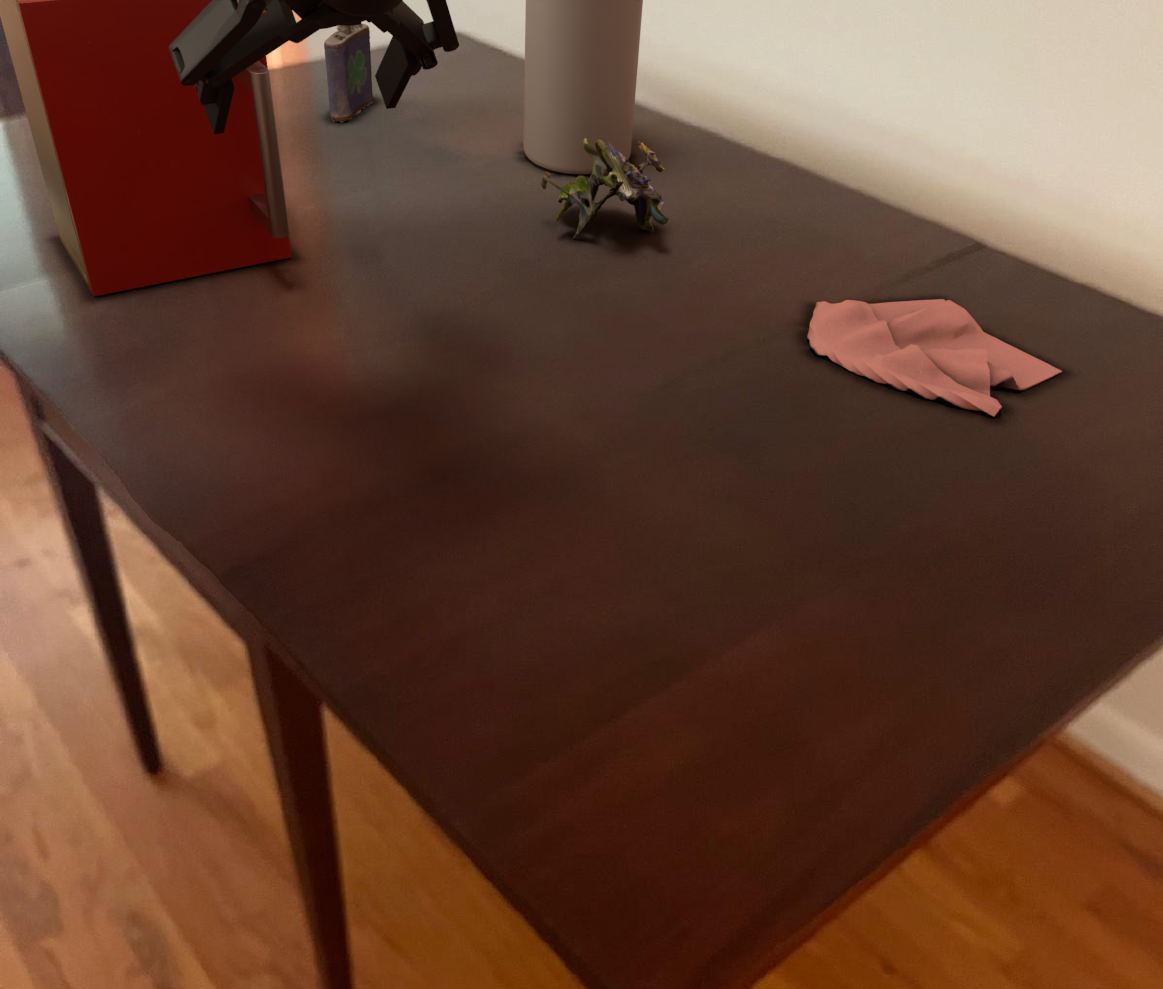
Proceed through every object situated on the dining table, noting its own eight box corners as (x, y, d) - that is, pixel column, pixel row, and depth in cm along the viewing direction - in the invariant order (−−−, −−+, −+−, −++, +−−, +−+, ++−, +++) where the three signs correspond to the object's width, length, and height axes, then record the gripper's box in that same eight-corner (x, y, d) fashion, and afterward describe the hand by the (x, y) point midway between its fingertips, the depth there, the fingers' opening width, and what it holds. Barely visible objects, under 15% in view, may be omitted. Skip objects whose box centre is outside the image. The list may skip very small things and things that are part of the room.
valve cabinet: (287, 253, 109) (251, -25, 93) (90, 292, 102) (14, -4, 85) (246, 206, 117) (206, -59, 101) (60, 239, 109) (-16, -42, 93)
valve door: (316, 285, 104) (284, 1, 89) (112, 328, 97) (36, 26, 81) (288, 253, 109) (252, -22, 93) (91, 292, 101) (15, -1, 85)
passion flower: (636, 277, 121) (699, 211, 111) (551, 280, 115) (610, 210, 105) (602, 186, 123) (661, 113, 113) (518, 184, 117) (571, 107, 107)
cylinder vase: (646, 171, 129) (668, -76, 113) (543, 181, 126) (550, -73, 109) (607, 132, 138) (622, -103, 121) (509, 140, 134) (511, -101, 118)
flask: (345, 124, 136) (336, 28, 128) (323, 120, 136) (313, 24, 129) (378, 100, 142) (371, 8, 135) (356, 97, 143) (349, 5, 136)
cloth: (785, 300, 107) (789, 276, 106) (1005, 300, 109) (1013, 277, 108) (841, 419, 92) (847, 394, 90) (1096, 417, 94) (1106, 392, 93)
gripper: (172, 3, 61) (151, 177, 80) (569, -36, 71) (466, 127, 90) (125, -130, 61) (115, 76, 80) (530, -150, 71) (435, 37, 90)
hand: (301, 103), depth 85 cm, fingers open, 13 cm apart
